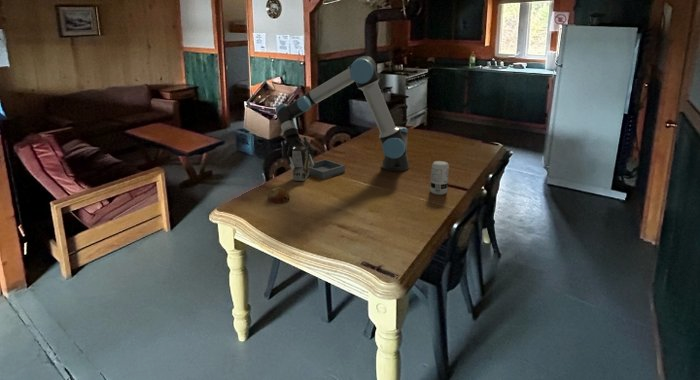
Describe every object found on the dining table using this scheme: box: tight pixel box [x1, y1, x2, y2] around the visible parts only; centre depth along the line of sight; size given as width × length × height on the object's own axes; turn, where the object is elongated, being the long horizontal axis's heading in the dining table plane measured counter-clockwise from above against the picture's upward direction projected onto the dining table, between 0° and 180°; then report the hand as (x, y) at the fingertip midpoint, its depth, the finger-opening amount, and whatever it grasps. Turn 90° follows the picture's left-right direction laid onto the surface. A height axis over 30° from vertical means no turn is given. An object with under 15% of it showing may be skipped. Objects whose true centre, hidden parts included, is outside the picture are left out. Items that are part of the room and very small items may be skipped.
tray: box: [309, 158, 346, 180], centre depth 271 cm, size 16×16×4 cm
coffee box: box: [291, 145, 310, 182], centre depth 258 cm, size 9×6×16 cm
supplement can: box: [429, 160, 450, 196], centre depth 242 cm, size 8×8×15 cm
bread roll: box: [267, 186, 291, 205], centre depth 233 cm, size 10×10×8 cm
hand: (303, 167), depth 256 cm, fingers closed on coffee box, 10 cm apart
